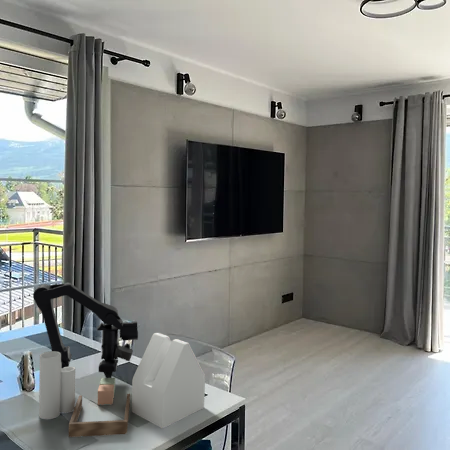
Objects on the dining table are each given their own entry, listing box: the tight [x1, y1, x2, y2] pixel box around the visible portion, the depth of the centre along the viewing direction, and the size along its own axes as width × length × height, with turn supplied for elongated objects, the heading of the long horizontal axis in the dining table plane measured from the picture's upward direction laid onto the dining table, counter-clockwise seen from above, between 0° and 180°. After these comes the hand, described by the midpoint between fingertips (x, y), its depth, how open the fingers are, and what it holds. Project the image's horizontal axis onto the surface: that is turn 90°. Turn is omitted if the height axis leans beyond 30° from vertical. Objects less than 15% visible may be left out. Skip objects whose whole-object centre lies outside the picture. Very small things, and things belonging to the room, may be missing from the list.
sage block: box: [99, 377, 116, 394], centre depth 161 cm, size 5×5×5 cm
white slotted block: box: [131, 332, 206, 429], centre depth 150 cm, size 19×15×25 cm
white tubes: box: [38, 350, 76, 420], centre depth 146 cm, size 11×7×20 cm, turn 140°
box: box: [68, 393, 131, 438], centre depth 143 cm, size 17×19×4 cm
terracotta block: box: [97, 384, 115, 406], centre depth 155 cm, size 5×5×5 cm
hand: (109, 381), depth 167 cm, fingers closed
